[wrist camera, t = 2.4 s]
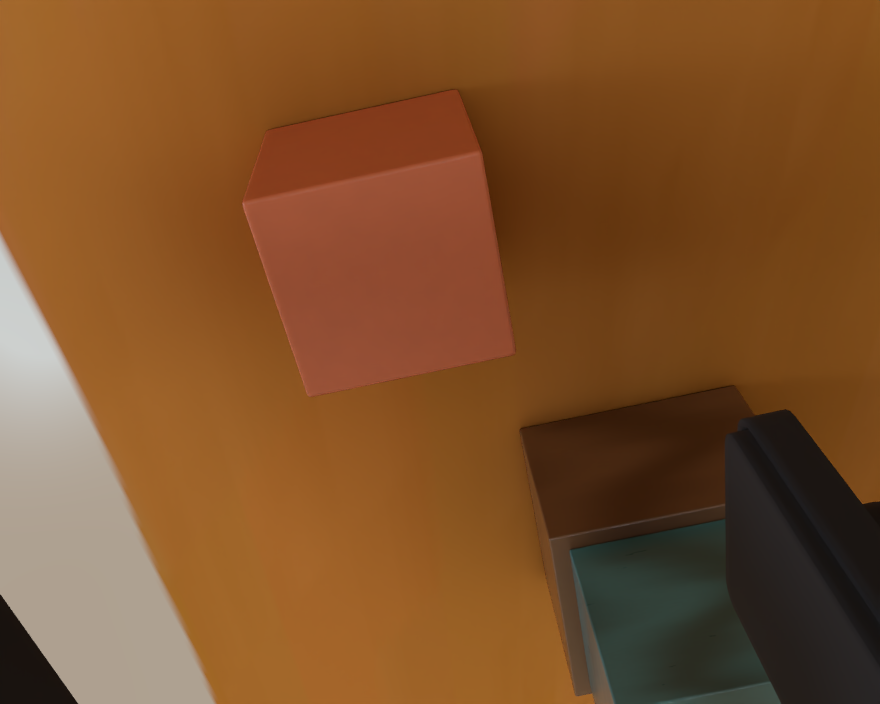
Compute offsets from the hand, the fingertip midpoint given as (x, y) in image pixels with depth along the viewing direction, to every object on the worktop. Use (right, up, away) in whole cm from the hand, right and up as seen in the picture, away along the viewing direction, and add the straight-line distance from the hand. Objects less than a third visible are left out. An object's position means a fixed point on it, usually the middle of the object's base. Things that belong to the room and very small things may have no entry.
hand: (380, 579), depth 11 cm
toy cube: (-1, +7, +12) cm, 14 cm away
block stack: (+7, -2, +18) cm, 19 cm away
